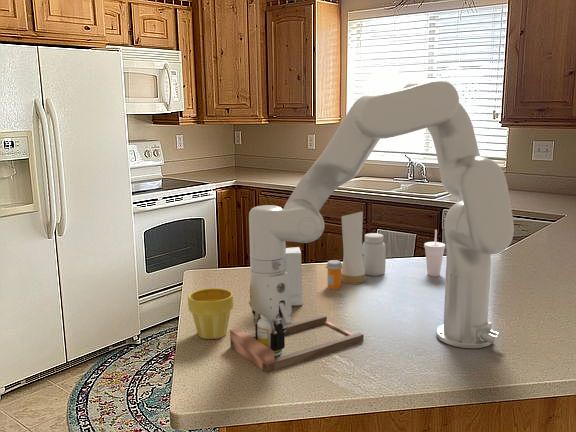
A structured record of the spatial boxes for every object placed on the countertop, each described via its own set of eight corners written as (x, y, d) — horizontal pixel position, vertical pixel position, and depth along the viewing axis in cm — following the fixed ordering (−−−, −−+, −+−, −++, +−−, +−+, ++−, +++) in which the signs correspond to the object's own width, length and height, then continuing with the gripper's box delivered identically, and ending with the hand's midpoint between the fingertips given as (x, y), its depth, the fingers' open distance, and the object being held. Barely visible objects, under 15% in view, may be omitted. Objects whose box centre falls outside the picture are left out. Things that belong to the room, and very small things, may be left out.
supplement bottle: (258, 358, 123) (257, 315, 121) (257, 347, 128) (256, 306, 126) (283, 357, 123) (282, 314, 121) (281, 346, 128) (280, 305, 126)
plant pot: (204, 323, 142) (202, 285, 140) (241, 328, 138) (240, 290, 136) (181, 339, 133) (179, 298, 131) (220, 345, 129) (219, 304, 127)
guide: (363, 341, 131) (363, 324, 130) (266, 372, 116) (265, 353, 115) (323, 320, 143) (323, 305, 142) (230, 346, 128) (230, 330, 128)
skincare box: (301, 298, 159) (301, 246, 156) (303, 306, 153) (302, 252, 150) (271, 299, 158) (270, 247, 156) (271, 307, 153) (270, 253, 150)
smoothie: (446, 273, 180) (448, 229, 177) (440, 278, 174) (442, 233, 172) (427, 270, 183) (428, 227, 180) (420, 275, 178) (421, 231, 175)
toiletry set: (370, 268, 186) (371, 205, 182) (390, 272, 181) (391, 208, 177) (319, 286, 169) (319, 218, 165) (339, 292, 164) (339, 221, 160)
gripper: (306, 270, 116) (307, 354, 120) (261, 252, 130) (263, 328, 134) (275, 277, 112) (277, 363, 116) (232, 258, 126) (235, 335, 130)
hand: (270, 343), depth 125 cm, fingers closed on supplement bottle, 5 cm apart
